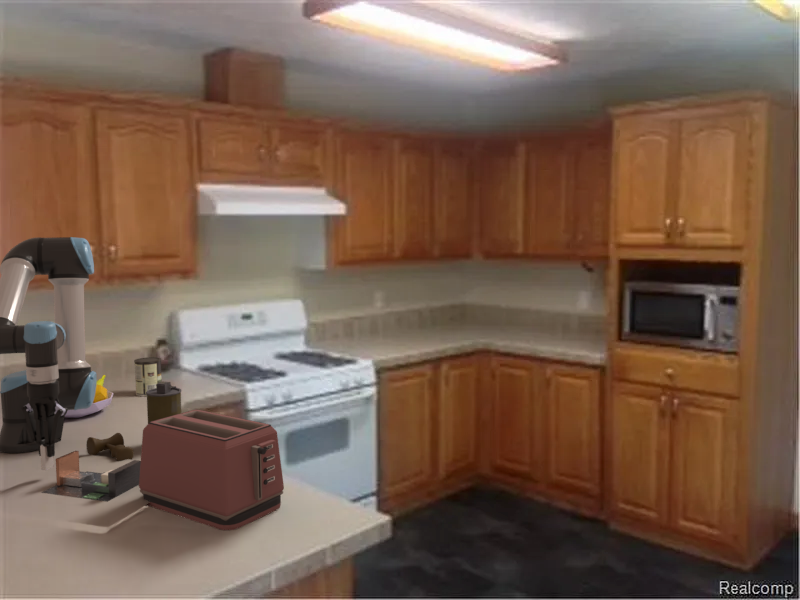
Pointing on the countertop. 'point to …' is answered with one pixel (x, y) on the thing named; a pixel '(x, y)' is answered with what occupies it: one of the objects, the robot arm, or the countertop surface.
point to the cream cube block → (105, 477)
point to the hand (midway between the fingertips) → (47, 468)
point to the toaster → (211, 468)
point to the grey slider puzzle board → (103, 484)
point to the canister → (163, 401)
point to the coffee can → (147, 374)
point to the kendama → (110, 447)
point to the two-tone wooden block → (71, 471)
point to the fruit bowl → (100, 401)
